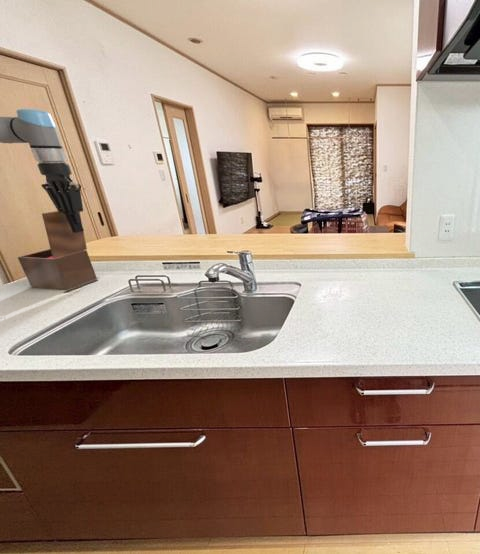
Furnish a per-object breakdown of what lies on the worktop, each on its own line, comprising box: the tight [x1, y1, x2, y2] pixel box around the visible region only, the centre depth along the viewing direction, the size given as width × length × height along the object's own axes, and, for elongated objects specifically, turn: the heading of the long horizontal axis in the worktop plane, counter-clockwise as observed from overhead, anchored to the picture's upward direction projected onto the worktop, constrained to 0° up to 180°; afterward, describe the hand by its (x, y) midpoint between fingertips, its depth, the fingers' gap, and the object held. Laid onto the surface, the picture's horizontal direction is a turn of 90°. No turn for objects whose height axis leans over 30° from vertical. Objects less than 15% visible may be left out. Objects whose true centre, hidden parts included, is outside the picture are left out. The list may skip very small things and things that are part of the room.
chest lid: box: [41, 210, 88, 258], centre depth 109 cm, size 16×12×1 cm
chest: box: [17, 248, 99, 293], centre depth 115 cm, size 16×12×13 cm
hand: (78, 231), depth 108 cm, fingers closed
